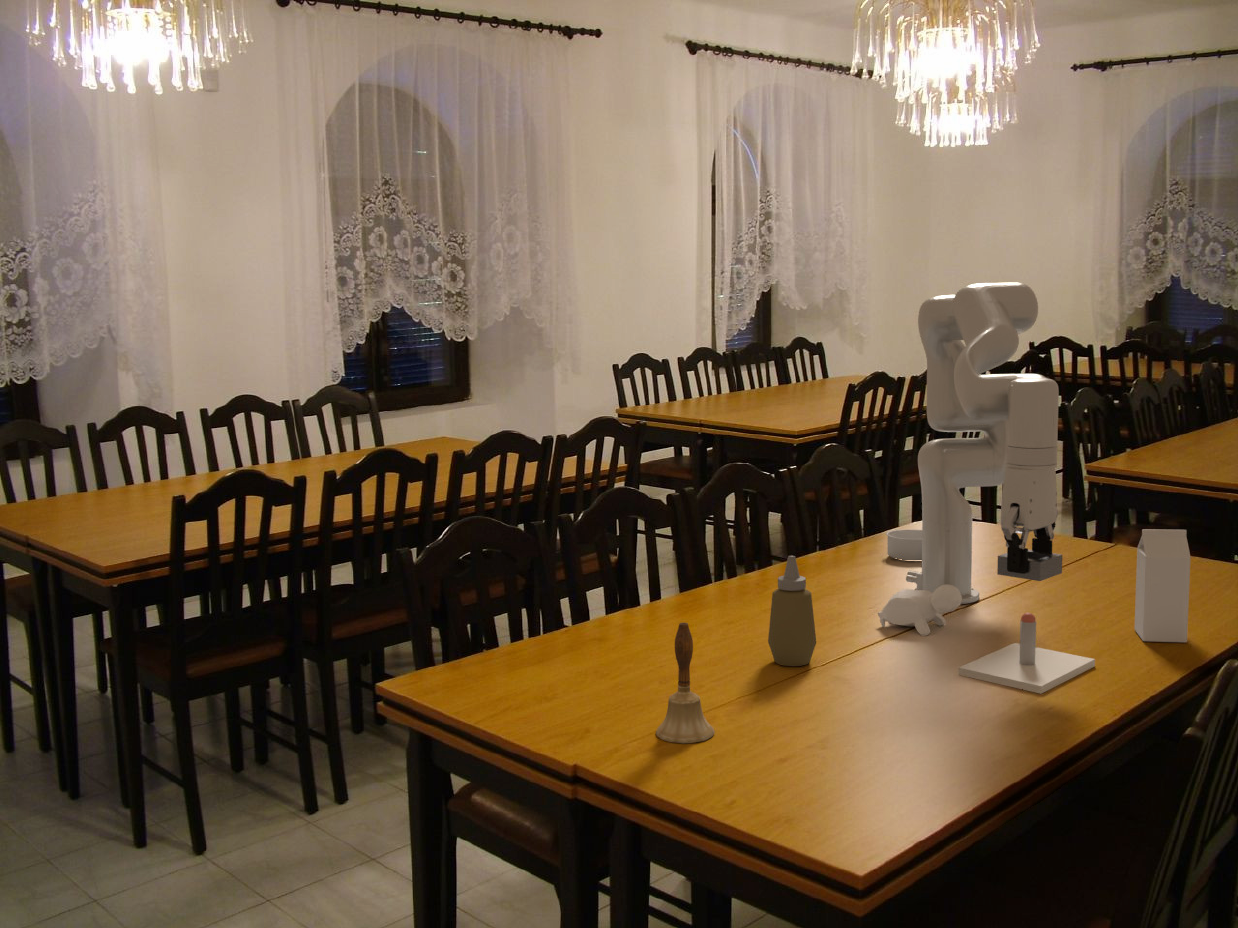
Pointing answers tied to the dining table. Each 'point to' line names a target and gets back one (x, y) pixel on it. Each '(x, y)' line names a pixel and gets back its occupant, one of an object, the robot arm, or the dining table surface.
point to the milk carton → (1162, 586)
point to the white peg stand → (1027, 663)
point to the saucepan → (905, 544)
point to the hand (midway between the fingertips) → (1029, 567)
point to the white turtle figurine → (920, 607)
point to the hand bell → (684, 700)
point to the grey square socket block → (1034, 566)
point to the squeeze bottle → (792, 619)
